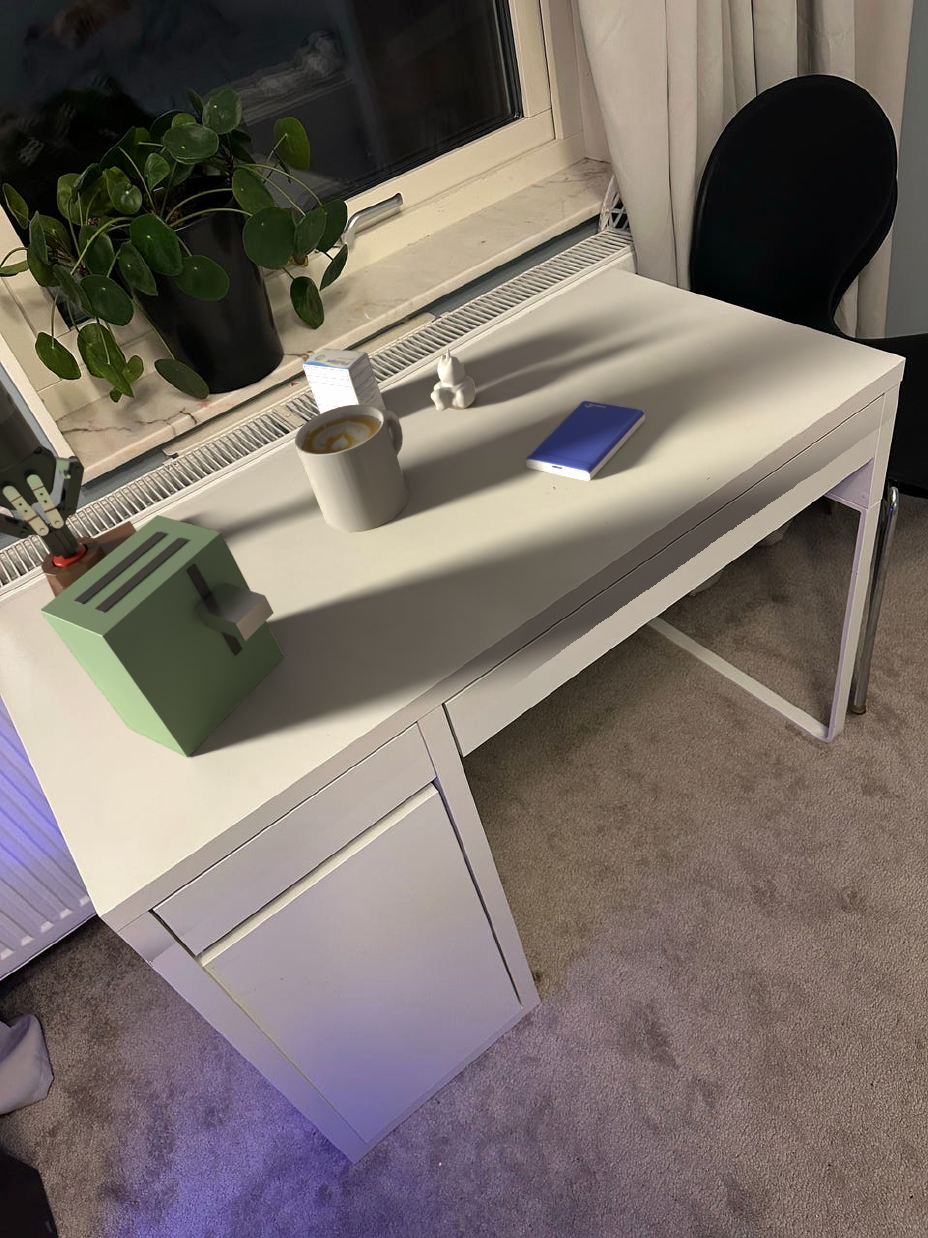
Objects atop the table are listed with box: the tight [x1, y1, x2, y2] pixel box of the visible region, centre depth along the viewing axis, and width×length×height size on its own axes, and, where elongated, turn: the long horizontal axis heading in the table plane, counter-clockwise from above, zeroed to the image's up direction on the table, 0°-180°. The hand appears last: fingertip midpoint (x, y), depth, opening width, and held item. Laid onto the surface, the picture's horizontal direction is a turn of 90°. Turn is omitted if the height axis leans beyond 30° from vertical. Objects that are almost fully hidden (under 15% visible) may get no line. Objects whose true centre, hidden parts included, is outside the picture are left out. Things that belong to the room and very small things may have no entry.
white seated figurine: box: [430, 348, 476, 412], centre depth 105 cm, size 5×7×8 cm
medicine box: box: [302, 347, 387, 414], centre depth 109 cm, size 8×4×9 cm, turn 58°
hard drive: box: [525, 400, 646, 482], centre depth 95 cm, size 2×8×12 cm
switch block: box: [40, 520, 138, 598], centre depth 96 cm, size 11×9×4 cm
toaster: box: [39, 514, 285, 758], centre depth 74 cm, size 13×9×15 cm, turn 148°
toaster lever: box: [195, 583, 274, 641], centre depth 69 cm, size 4×5×2 cm
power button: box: [54, 544, 87, 568], centre depth 94 cm, size 4×4×2 cm
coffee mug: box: [294, 404, 409, 533], centre depth 93 cm, size 13×10×10 cm
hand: (69, 553), depth 94 cm, fingers closed
